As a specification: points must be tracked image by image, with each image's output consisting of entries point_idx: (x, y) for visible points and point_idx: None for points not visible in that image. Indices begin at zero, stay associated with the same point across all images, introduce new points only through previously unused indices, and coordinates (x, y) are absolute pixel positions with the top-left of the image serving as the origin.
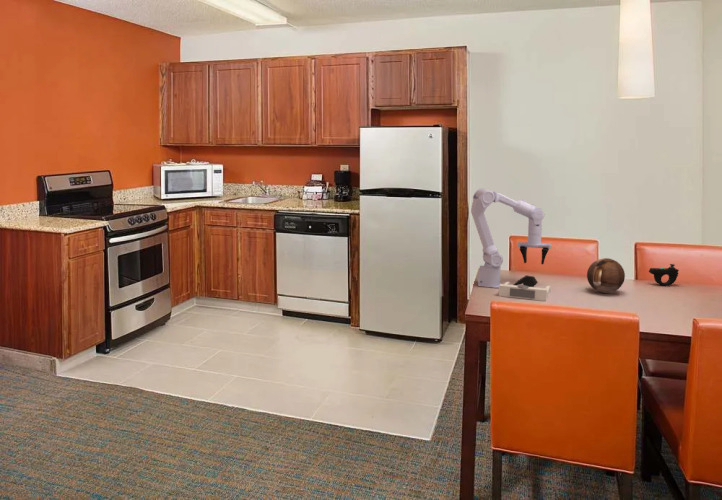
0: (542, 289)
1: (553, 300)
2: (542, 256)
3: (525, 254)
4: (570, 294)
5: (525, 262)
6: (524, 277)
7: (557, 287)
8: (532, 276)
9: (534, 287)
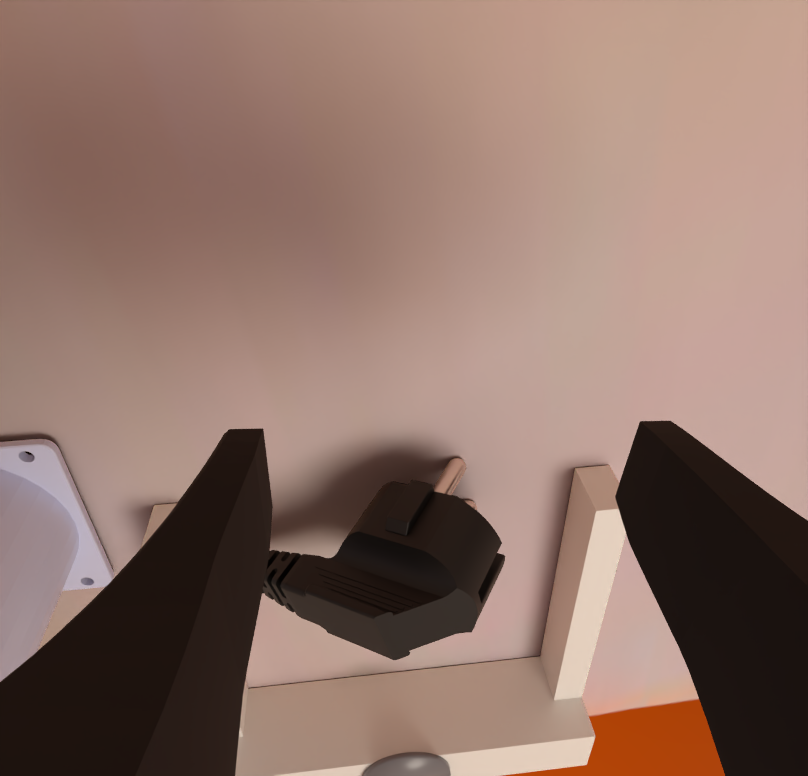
0: (557, 761)
1: (612, 653)
2: (712, 689)
3: (229, 695)
4: (785, 468)
5: (270, 522)
6: (363, 639)
7: (716, 252)
8: (451, 600)
9: (494, 749)
